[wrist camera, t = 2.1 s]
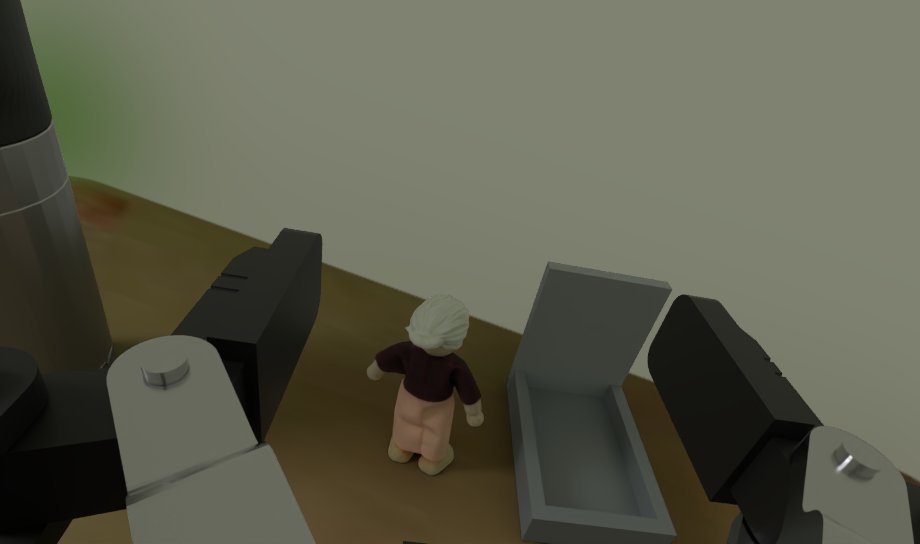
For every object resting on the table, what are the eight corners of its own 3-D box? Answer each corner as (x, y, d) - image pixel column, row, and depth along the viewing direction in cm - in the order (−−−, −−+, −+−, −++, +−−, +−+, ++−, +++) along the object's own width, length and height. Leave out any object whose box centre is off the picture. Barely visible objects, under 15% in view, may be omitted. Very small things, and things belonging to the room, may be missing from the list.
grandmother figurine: (471, 439, 34) (515, 298, 27) (463, 488, 31) (512, 340, 24) (367, 412, 34) (385, 265, 27) (348, 458, 31) (364, 303, 24)
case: (521, 540, 28) (588, 404, 22) (506, 383, 39) (547, 261, 33) (660, 556, 29) (762, 429, 23) (607, 398, 40) (667, 282, 34)
